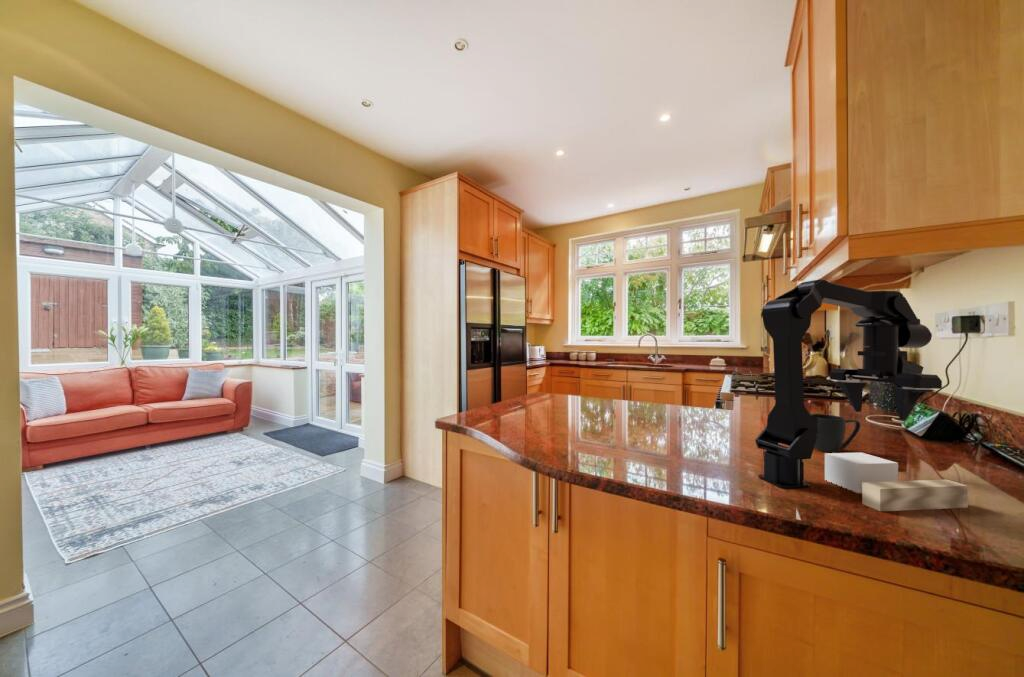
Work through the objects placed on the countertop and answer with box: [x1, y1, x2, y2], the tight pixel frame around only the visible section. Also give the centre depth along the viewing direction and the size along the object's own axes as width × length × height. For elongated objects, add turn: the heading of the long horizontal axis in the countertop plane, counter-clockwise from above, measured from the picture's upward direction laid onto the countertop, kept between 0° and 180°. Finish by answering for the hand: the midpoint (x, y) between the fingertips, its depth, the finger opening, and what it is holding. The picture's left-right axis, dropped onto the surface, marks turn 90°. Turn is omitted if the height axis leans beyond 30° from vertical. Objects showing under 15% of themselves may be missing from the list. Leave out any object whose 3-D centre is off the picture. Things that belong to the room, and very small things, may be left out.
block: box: [824, 451, 899, 494], centre depth 76 cm, size 9×7×6 cm
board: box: [861, 479, 969, 512], centre depth 67 cm, size 18×3×4 cm, turn 96°
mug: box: [813, 413, 861, 453], centre depth 101 cm, size 8×12×10 cm
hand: (879, 415), depth 82 cm, fingers open, 9 cm apart
